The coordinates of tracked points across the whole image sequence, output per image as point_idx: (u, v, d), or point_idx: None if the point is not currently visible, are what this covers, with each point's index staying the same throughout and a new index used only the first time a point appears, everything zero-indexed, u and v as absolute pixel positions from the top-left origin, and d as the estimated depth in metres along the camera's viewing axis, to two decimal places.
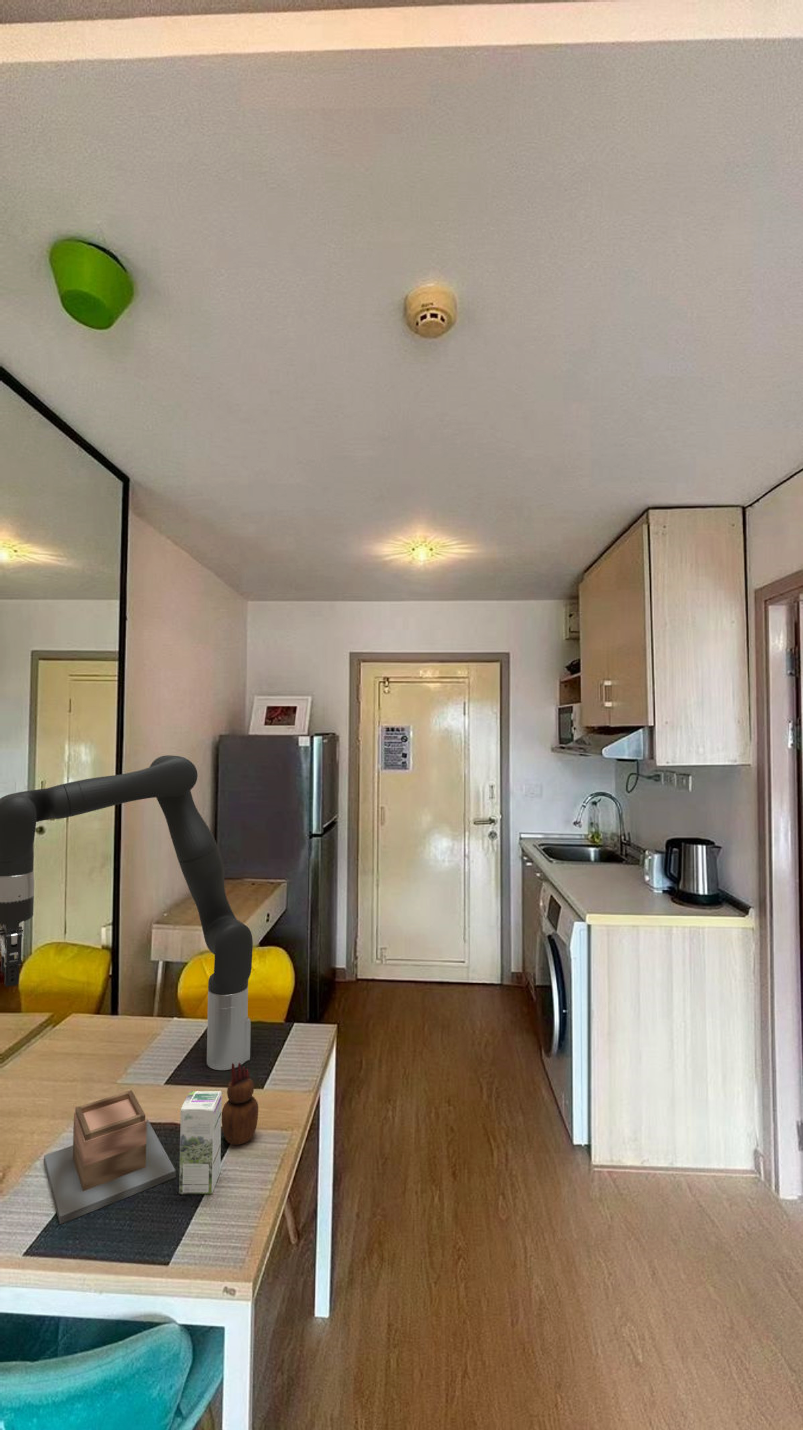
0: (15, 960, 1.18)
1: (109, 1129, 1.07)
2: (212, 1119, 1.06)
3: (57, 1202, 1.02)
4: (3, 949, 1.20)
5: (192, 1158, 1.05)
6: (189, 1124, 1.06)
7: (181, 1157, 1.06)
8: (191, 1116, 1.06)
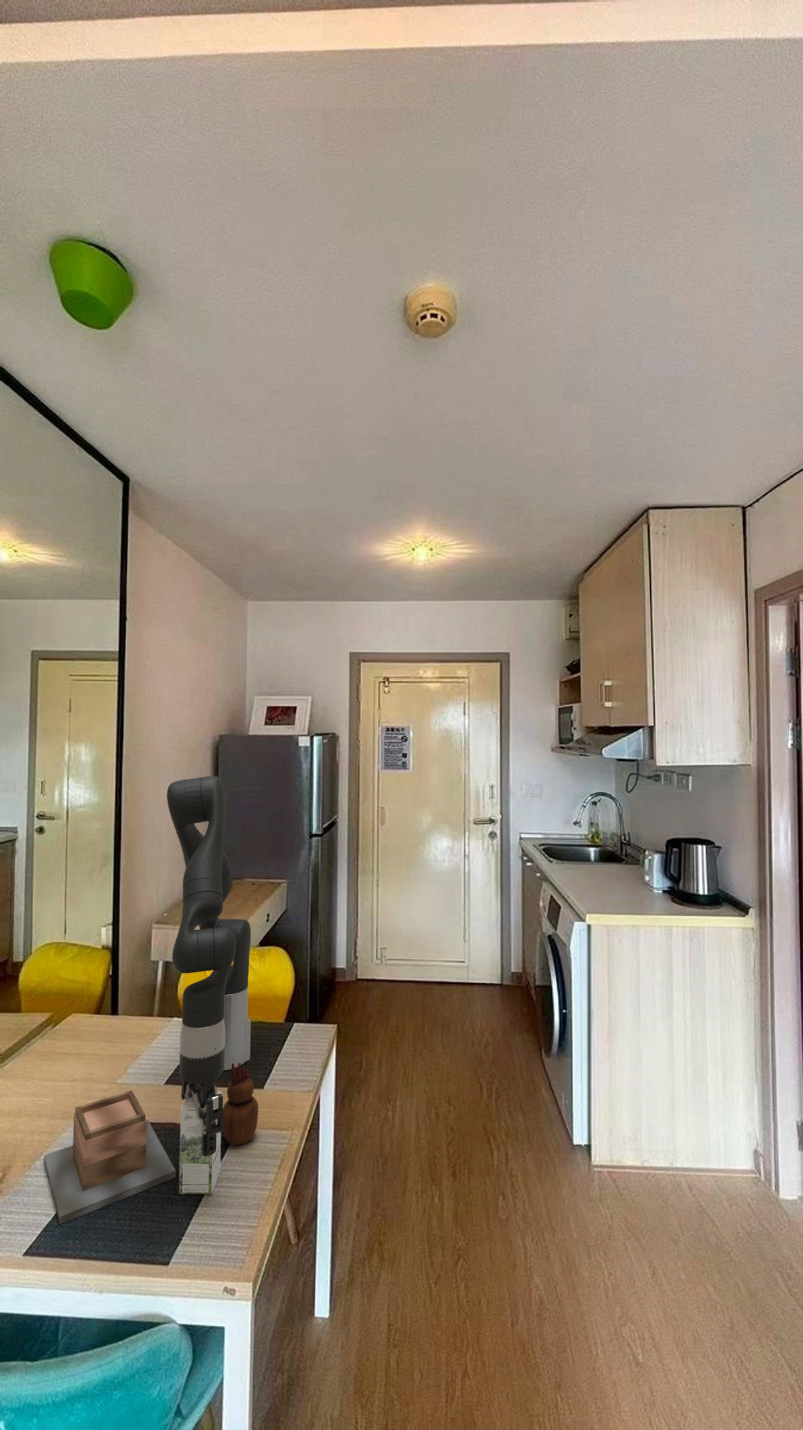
0: (216, 1128, 1.03)
1: (109, 1129, 1.07)
2: None
3: (57, 1202, 1.02)
4: (200, 1112, 1.05)
5: (192, 1158, 1.05)
6: (189, 1124, 1.06)
7: (181, 1157, 1.06)
8: (191, 1116, 1.06)
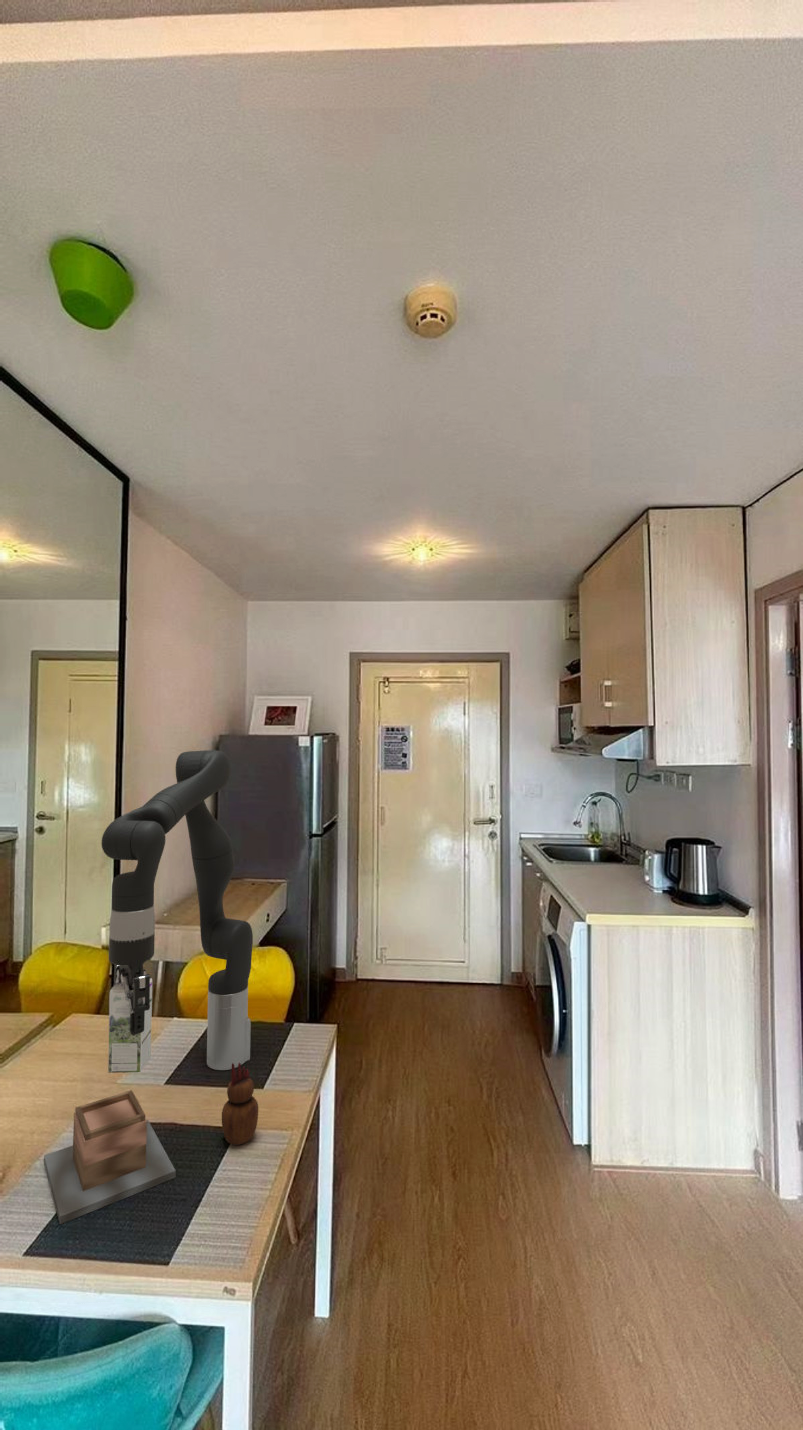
0: (143, 1005, 1.07)
1: (109, 1129, 1.07)
2: (140, 1000, 1.09)
3: (57, 1202, 1.02)
4: (128, 993, 1.08)
5: (120, 1038, 1.09)
6: (117, 1005, 1.09)
7: (110, 1037, 1.09)
8: (120, 998, 1.09)
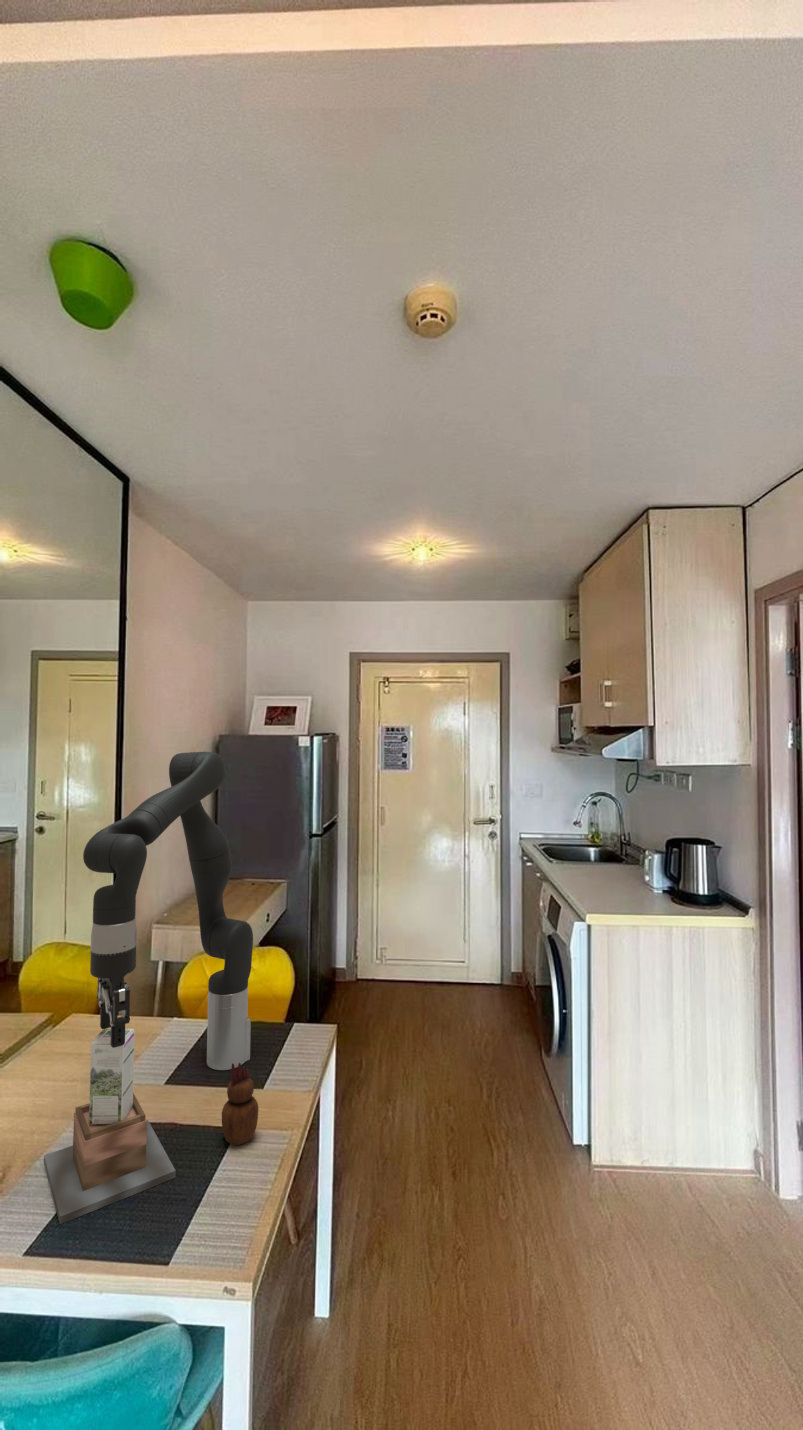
0: (123, 1019, 1.07)
1: (109, 1129, 1.07)
2: (121, 1052, 1.09)
3: (57, 1202, 1.02)
4: (108, 1006, 1.09)
5: (101, 1091, 1.09)
6: (98, 1057, 1.09)
7: (91, 1089, 1.09)
8: (101, 1050, 1.09)
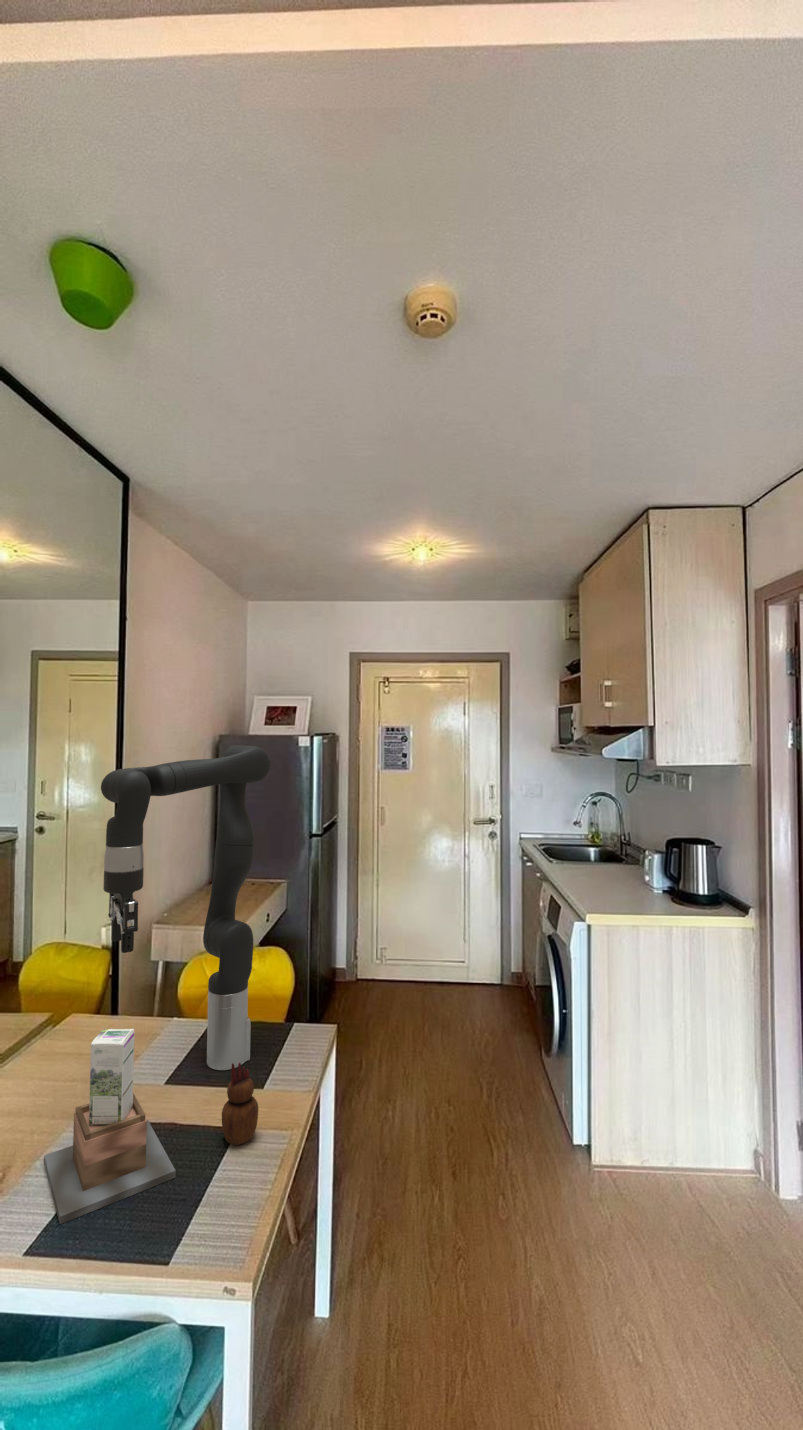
0: (132, 927, 1.23)
1: (109, 1129, 1.07)
2: (121, 1053, 1.09)
3: (57, 1202, 1.02)
4: (119, 917, 1.25)
5: (101, 1091, 1.09)
6: (98, 1058, 1.09)
7: (91, 1090, 1.09)
8: (101, 1050, 1.09)
